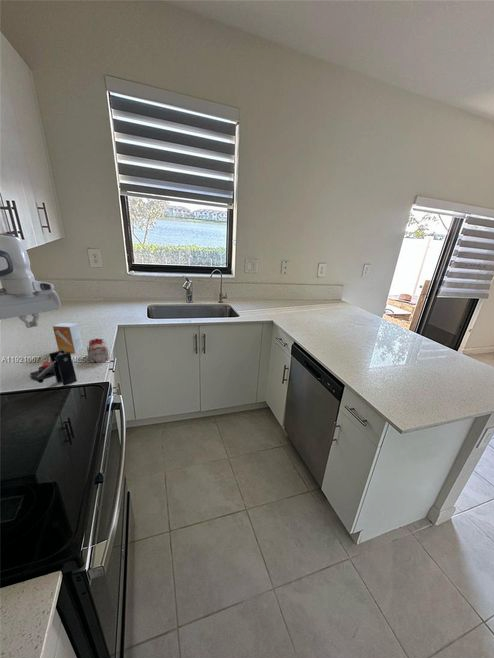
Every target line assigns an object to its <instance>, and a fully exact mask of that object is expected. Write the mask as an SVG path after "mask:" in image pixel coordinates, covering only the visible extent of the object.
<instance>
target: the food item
mask: <svg viewBox="0 0 494 658" xmlns="http://www.w3.org/2000/svg"><path fill="white" fill-rule="evenodd" d="M86 348H87V350H86V352H87V356H88V359H89V362H90V363H91V364H93V363H103V362H106V361H109V360H110V356H109V349H108V346H107V343H106V340H105V339H104V338H92V339H89V341H88V346H86Z"/></svg>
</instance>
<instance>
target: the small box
mask: <svg viewBox="0 0 494 658" xmlns="http://www.w3.org/2000/svg"><path fill="white" fill-rule="evenodd" d="M79 326H80V325H79V323H74V322H73V323H72V322H59V323H57V324H54V325H52V330H53V334H54V338H55V341H56V345H57V349H58V351H61V350H63V351H64V353H68V352H69V353H70V354H76V353H78V352H80V351H82V350H83V349H84V344H83V340H82V336H81V331H80V327H79ZM82 348H83V349H82ZM81 349H82V350H81ZM79 350H80V351H79Z"/></svg>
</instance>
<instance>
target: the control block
mask: <svg viewBox="0 0 494 658" xmlns="http://www.w3.org/2000/svg"><path fill="white" fill-rule="evenodd" d="M44 370H45V369H43V365H41V366H39V367H38V370H36V371H32V372H30V376H33V375H34V376H38V375H39V374H40V373H41V372H42V371H44ZM52 377H55V373H54V370H53V368H52V369H51V370H50V371H49V372H48V373H47V374H46V375H44V376H43V377H42V378H41V379H43V380H46V379H49V378H52Z"/></svg>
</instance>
